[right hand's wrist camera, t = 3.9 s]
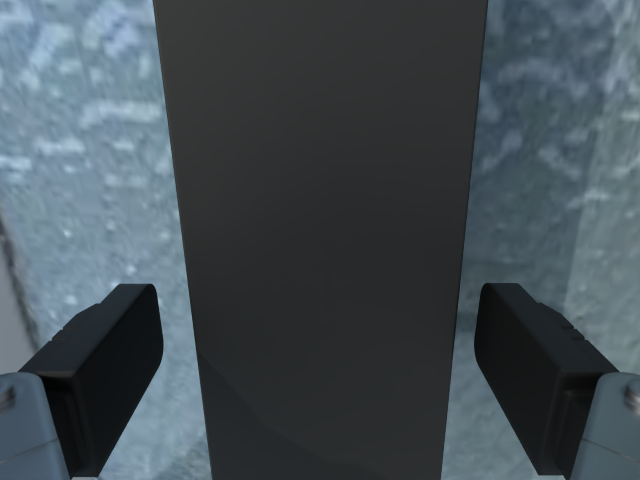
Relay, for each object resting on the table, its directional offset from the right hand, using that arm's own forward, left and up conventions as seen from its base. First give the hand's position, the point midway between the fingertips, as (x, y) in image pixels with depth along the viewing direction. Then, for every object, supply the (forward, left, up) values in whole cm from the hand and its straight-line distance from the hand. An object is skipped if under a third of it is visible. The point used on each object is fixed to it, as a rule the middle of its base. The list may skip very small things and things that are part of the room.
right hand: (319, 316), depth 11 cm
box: (+8, 0, -11) cm, 13 cm away
